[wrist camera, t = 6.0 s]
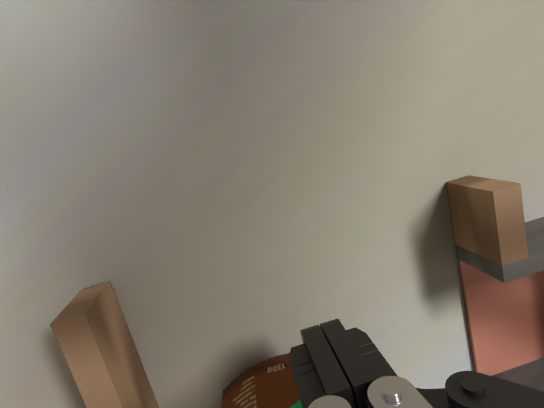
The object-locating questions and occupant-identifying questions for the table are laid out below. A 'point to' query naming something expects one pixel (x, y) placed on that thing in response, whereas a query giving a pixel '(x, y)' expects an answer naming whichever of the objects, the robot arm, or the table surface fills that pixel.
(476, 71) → the table surface
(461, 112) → the table surface
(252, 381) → the food container
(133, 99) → the table surface
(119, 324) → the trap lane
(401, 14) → the table surface
